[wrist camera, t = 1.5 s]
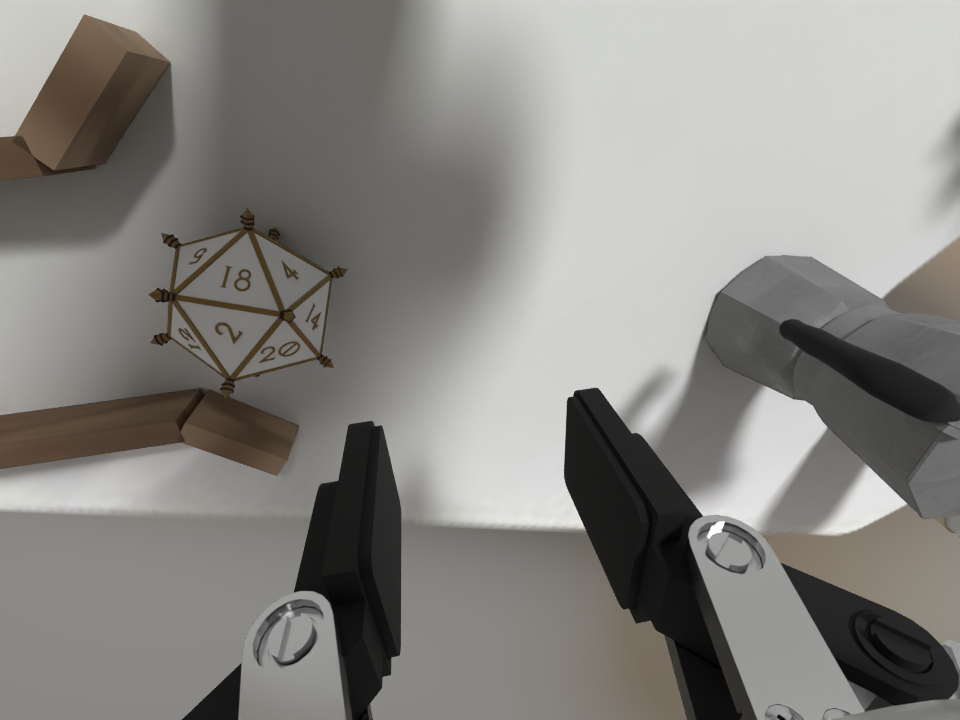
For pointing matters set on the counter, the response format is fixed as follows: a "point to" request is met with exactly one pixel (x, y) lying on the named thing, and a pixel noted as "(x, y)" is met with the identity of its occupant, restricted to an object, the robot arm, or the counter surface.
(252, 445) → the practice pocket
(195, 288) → the game die
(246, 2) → the counter surface
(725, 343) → the coffeepot
